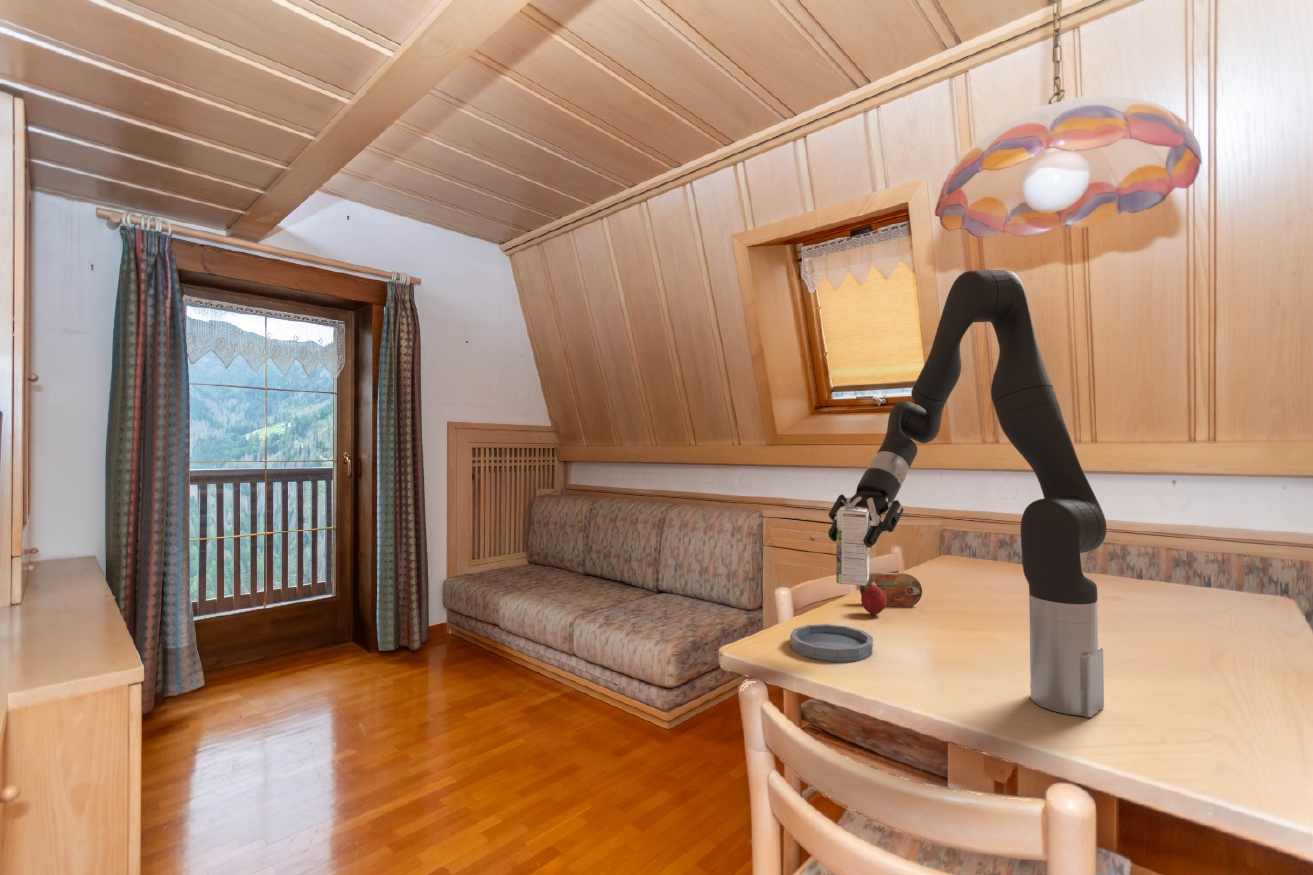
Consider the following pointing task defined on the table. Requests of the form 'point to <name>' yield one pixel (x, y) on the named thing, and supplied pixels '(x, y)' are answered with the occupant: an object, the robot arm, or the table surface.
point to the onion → (873, 599)
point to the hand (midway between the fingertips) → (848, 541)
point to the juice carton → (852, 546)
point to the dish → (831, 643)
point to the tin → (896, 588)
